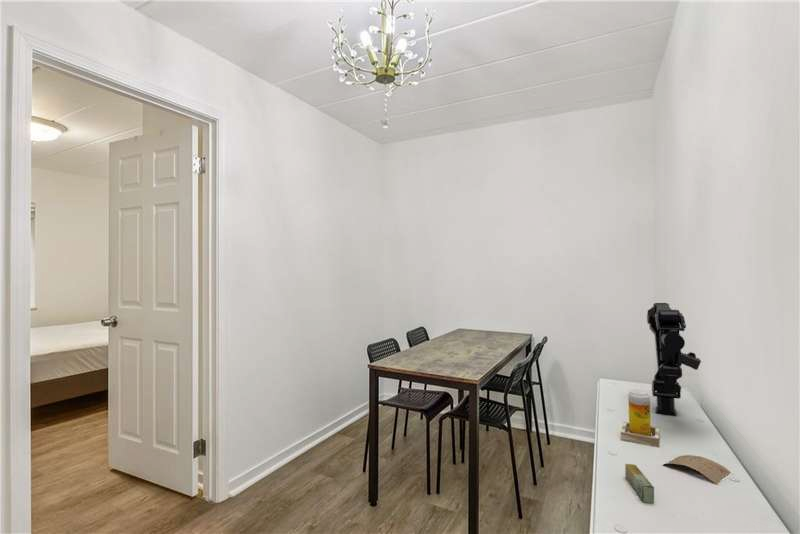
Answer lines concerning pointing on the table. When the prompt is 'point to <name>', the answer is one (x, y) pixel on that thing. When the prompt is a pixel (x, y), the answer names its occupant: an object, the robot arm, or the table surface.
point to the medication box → (639, 483)
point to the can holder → (640, 436)
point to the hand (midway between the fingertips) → (671, 390)
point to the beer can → (639, 412)
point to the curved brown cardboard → (703, 466)
